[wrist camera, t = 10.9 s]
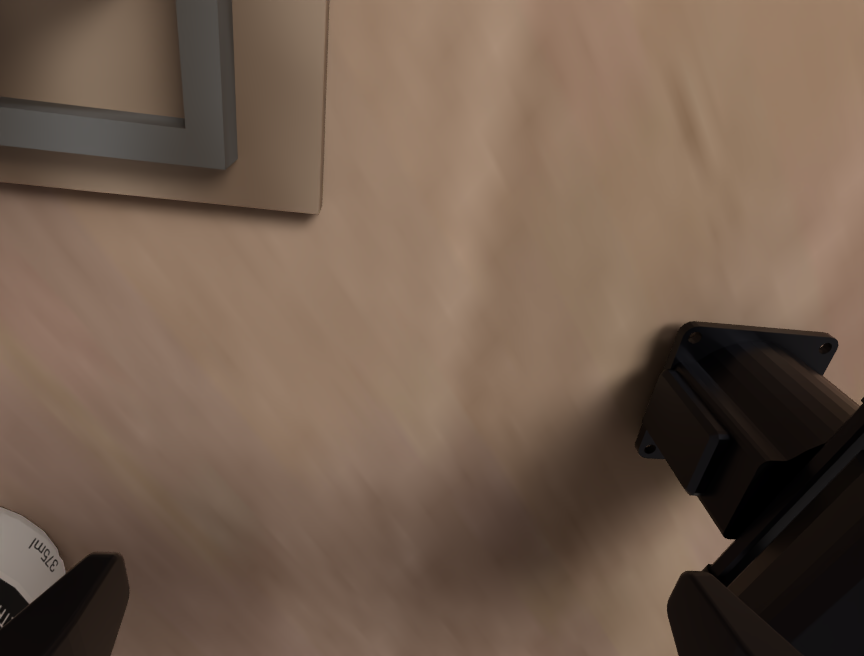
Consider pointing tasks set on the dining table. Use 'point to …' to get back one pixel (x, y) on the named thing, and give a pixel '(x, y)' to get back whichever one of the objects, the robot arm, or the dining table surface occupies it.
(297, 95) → the seat board
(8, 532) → the supplement can
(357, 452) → the dining table surface
